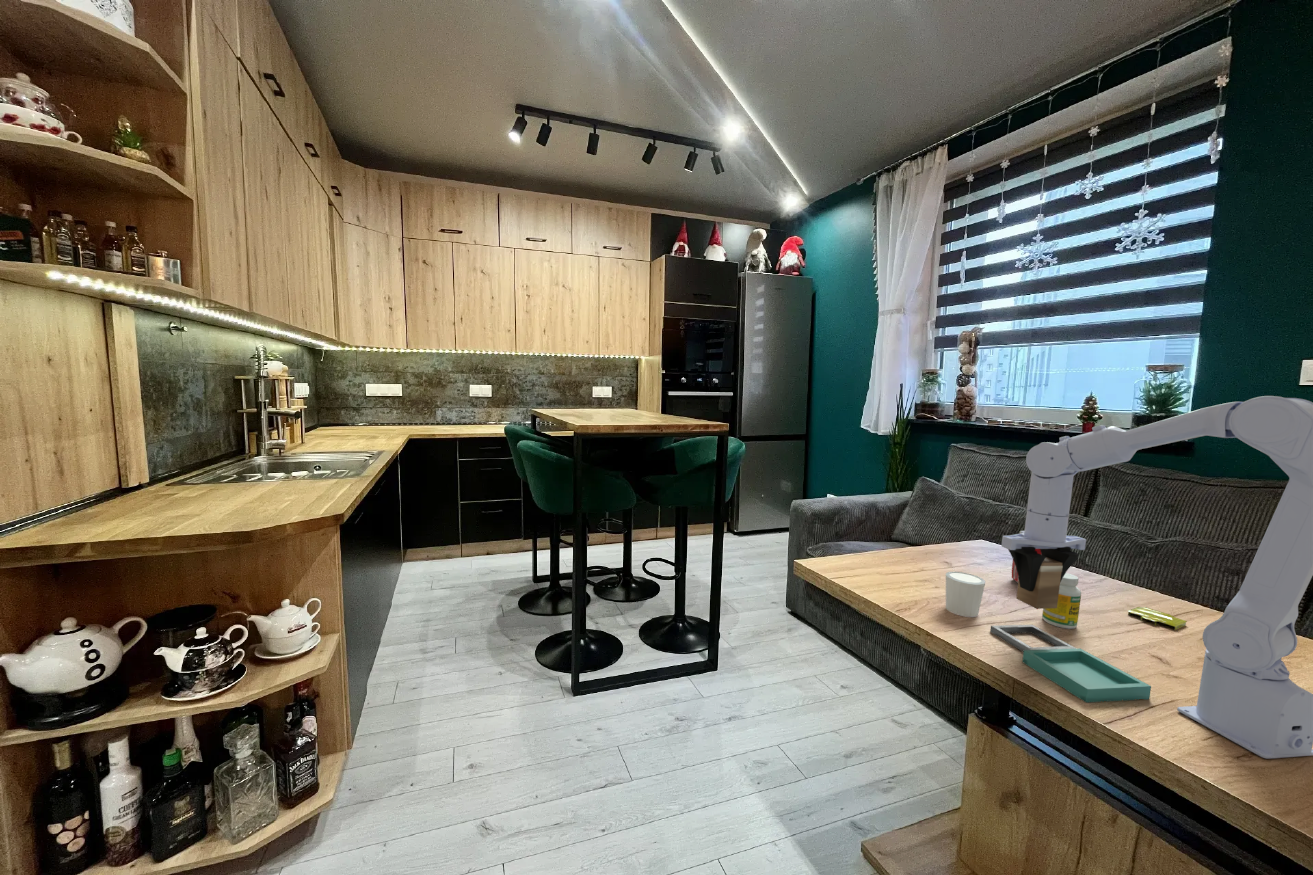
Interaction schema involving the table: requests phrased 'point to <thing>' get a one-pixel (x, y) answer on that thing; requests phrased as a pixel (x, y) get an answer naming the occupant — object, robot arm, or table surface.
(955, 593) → the white cup
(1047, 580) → the brown tall block
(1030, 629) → the holder collar
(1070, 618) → the supplement bottle
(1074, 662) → the tray
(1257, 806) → the table surface
